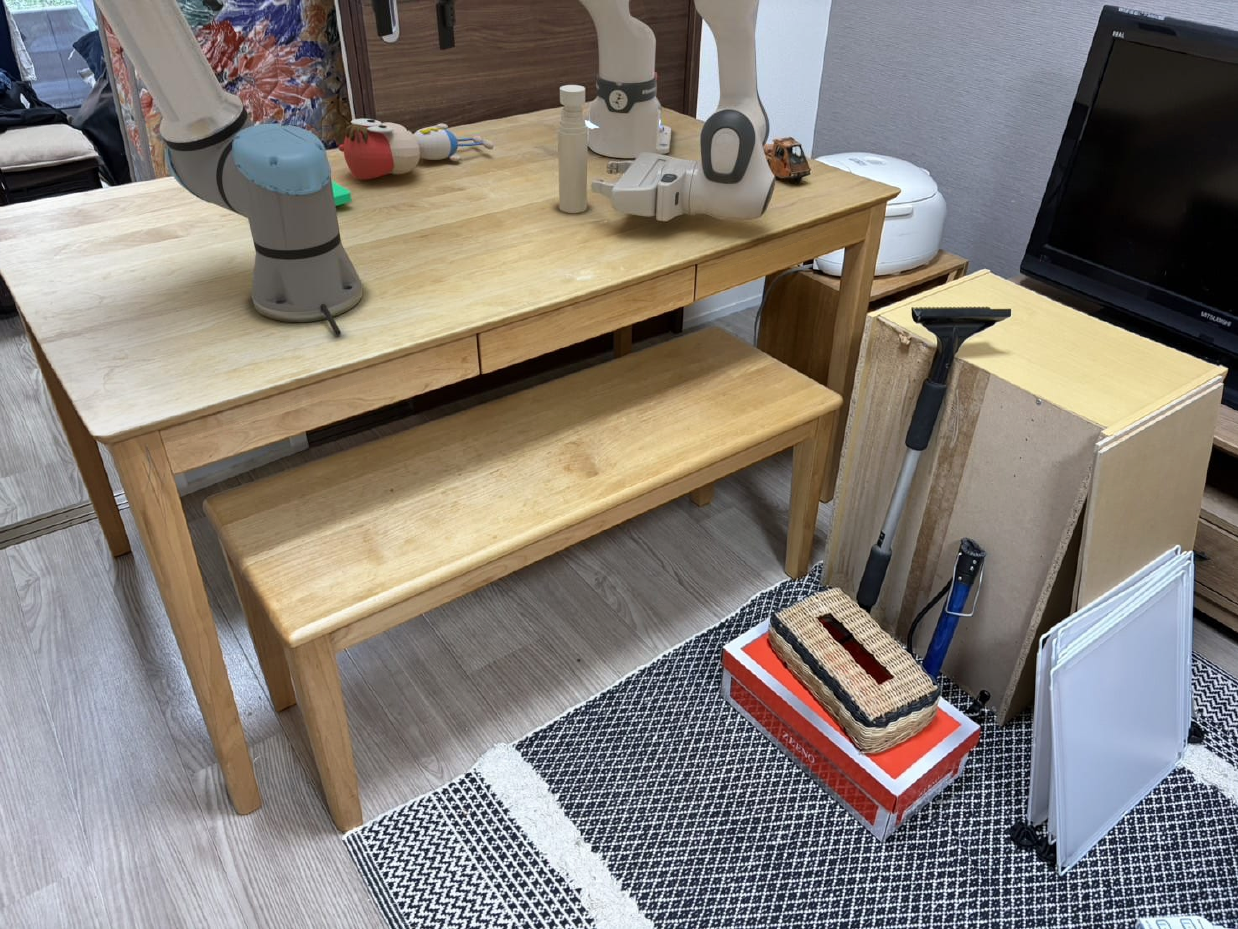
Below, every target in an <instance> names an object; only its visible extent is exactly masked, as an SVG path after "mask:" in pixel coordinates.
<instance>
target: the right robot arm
mask: <svg viewBox="0 0 1238 929" xmlns="http://www.w3.org/2000/svg"><path fill="white" fill-rule="evenodd" d="M578 2H580V3H581V4H582V5H583V7H584V8H585V9H586V11H587V12H588V14H589V15H590V18H591V19H592V21H593V24H594V28H595V30H596V36H597V46H598V73H597V75H596V81H595V87H596V90H595V92H596V95H597V96H596V97H595V99H593V100H592V101H591V102H590V103H589V109H588V120H586V124H587V148H589V149H591V150H592V151H593V152H594V153H595V154H599V155H602V156H605V157H610V158H617V159H619V158H620V159H630V160H622V161H613V160H610V161H609V162H608V163H607V165H606V173H607V174H609V175H617V174H622V176H621V177H620V178H619V179H618V181H617V182H611V183H608V182H605V181H604V179H597V178H596V179H593V181H592V182H591V184H590V190H591V192H592V193H596V194H601V195H603V196H605V197H607V198H609V199H610V203H611V204H610V205H611V208H612V209H613V210H615V211H617V212H618V213H623V214H628V215H634V216H640V217H655V218H656V221H660V222H668V221H670V220H672V219H673V218H675V217H677V216H678V217H679V216H681V215H684V214H685V215H691V216H693V215H694V216H696V215H708V216H710V217H713V218H716V219H721V220H722V219H723V220H734V221H754V220H757V219H759V218H761V217H762V216H763V215H764V214H765V213H766V212H767V210H768V208H769V204H770V202H771V200H772V197H773V194H774V191H775V186H776V176H775V175H774V174H773V173H772V171H771V169H770V167H769V165H768V162H767V160H766V157H765V153H764V150H763V147H764V146H765V145H767V144H766V143H767V142H768V140H769V136H770V119H769V117H768V116H769V115H768V114H767V111H766V109H765V107H764V105H763V103H762V100H761V97H760V93H759V90H758V76H757V54H756V29H757V20H758V12H759V6H760V0H693V2H694V7H695V10H696V12H697V14H699V16H700V17H701V19H703V20H704V22H705V23H706V25H707V27H709V30H710V31H711V34H712V35H713V38H714V42H715V46H716V52H717V70H718V83H719V99H718V105H717V107H716V110H715V111H714V112H713V113H712V114H711V115H710V116H709V117H708V118H707V119H706V121H705V122H704V124H703V126H702V128H701V130H700V135H699V136H700V137H699V144H700V159H701V160H694V159H685V158H677V157H675V156H671V155H666V154H669V153H670V147H671V138H672V128H671V127H670V126H667V125H664V124H662V120H663V105H661V103H660V101H659V99H658V97H657V93H658V91H657V89H658V83H657V80H658V73H657V71H655V68H656V48H657V47H656V46H657V40H656V36H655V33H654V32H653V30H652V29H651V28H650V27H649V26H648V24H646V23H644V22H642V21H641V20H640V19H638V18H636V17H633V15H632V14H631V12H630V0H578ZM631 159H634V160H631Z"/></svg>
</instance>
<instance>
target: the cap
mask: <svg viewBox="0 0 1238 929" xmlns="http://www.w3.org/2000/svg"><path fill="white" fill-rule="evenodd" d="M559 103H560V105H563V106H564V105H566V106H580V105H581V106H583V105H585V104H586V87H585V86H583V85H579V84H566V85H561V86H560V87H559Z"/></svg>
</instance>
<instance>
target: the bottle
mask: <svg viewBox="0 0 1238 929" xmlns="http://www.w3.org/2000/svg"><path fill="white" fill-rule="evenodd" d="M586 121H587V120H586V118H585V114H584V109H583V108H582V105H580V106H566V105H563V108H562V110H561V114H560V118H559V122H558V129H557V148H558V150H557V151H558V152H557V153H558V155H557V156H558V157H557V158H558V160H557V161H558V209H559V210H560V211H561V212H563V213H569V214H578V213H583V212H585V211H586V210H587V209H588V146H587V134H588V127H587V124H586Z"/></svg>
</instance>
